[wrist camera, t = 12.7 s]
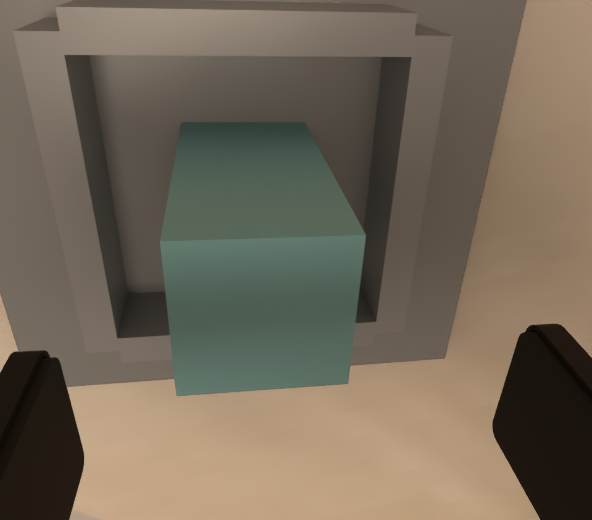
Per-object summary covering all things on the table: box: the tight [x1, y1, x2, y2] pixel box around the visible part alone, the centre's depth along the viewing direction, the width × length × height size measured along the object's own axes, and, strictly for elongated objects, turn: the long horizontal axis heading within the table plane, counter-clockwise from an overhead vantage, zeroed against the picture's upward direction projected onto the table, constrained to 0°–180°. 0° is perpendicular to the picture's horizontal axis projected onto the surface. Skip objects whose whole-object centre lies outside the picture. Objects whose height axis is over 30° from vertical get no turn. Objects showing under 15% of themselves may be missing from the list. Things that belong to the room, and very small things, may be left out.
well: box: [0, 0, 526, 387], centre depth 19 cm, size 20×20×4 cm
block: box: [160, 122, 366, 396], centre depth 16 cm, size 4×4×9 cm
